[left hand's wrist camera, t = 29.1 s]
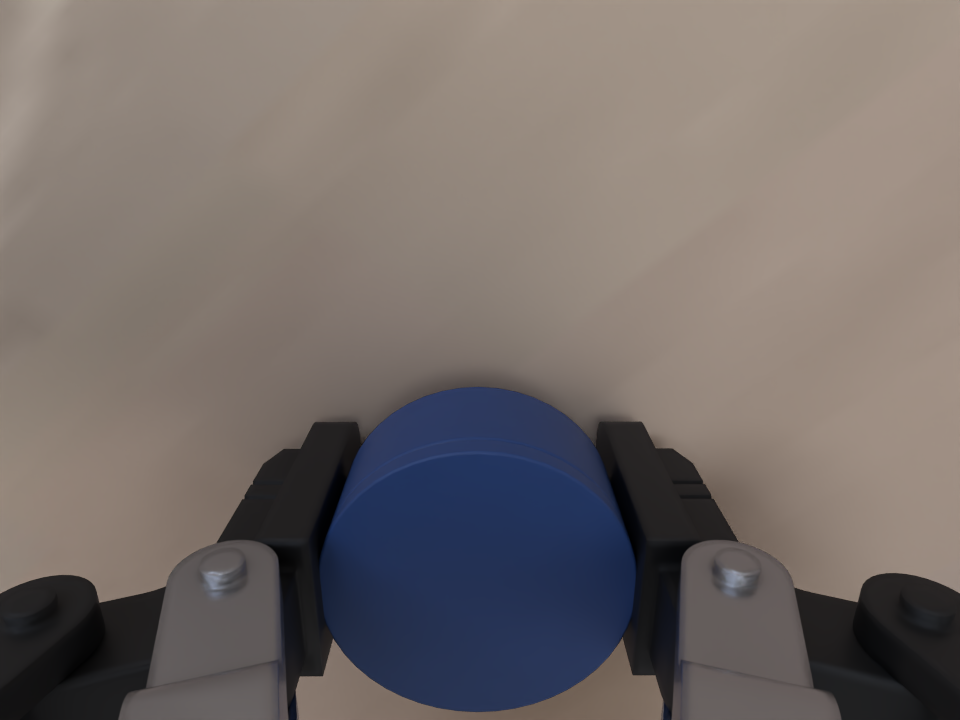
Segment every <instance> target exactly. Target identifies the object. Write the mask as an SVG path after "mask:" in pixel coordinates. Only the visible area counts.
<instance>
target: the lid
mask: <svg viewBox="0 0 960 720" xmlns="http://www.w3.org/2000/svg"><path fill="white" fill-rule="evenodd" d="M319 571H320V582H321V591H322V601H323V610H324V618H325V622H326V625H327V627H328V629H329V631H330V633H331V635H332V637H333V638H334V640H335V642H336V643H337V644H338V646H339V647H340V649H341V650H342V651H343V653H344V654H345V655H346V656H347V657H348V658H349V659H350V661H351V662H352V663H353V664H354V665H355V666H356V667H357V668H358V669H360V670H361V671H362V672H363V673H364V674H366V675H367V676H368V677H369V678H370V679H372V680H374V681H375V682H377V683H378V684H380V685H381V686H383V687H384V688H386V689H388V690H390V691H392V692H394V693H396V694H398V695H400V696H402V697H405V698H407V699H410V700H413V701H415V702H418V703H421V704H425V705H429V706H433V707H436V708H442V709H448V710H455V711H468V712H489V711H501V710H508V709H515V708H519V707H523V706H527V705H531V704H535V703H537V702H540V701H543V700H546V699H549V698H551V697H553V696H555V695H558V694H560V693H562V692H564V691H566V690H568V689H569V688H571V687H573V686H574V685H576V684H577V683H579V682H581V681H582V680H584V679H585V678H586V677H587V676H589V675H590V674H591V673H592V672H594V671H595V670H596V669H597V668H598V667H599V666H600V665H601V664H602V663H603V662H604V661H605V660H606V659H607V658H608V657H609V656H610V654H611V653H612V652H613V650H614V649H615V648H616V646H617V645H618V644H619V642H620V641H621V639H622V637H623V635H624V633H625V631H626V629H627V628H628V625H629V622H630V620H631V617H632V609H633V600H634V590H635V580H636V558H635V555H634V551H633V548H632V545H631V541H630V538H629V535H628V532H627V530H626V527H625V524H624V521H623V518H622V515H621V512H620V509H619V506H618V503H617V500H616V497H615V494H614V491H613V488H612V486H611V483H610V480H609V477H608V474H607V471H606V468H605V465H604V463H603V461H602V459H601V457H600V455H599V453H598V451H597V449H596V448H595V446H594V445H593V443H592V442H591V440H590V439H589V437H588V436H587V435H586V434H585V433H584V432H583V431H582V430H581V429H580V427H579V426H578V425H577V424H575V423H574V422H573V421H572V420H571V419H569V418H568V417H567V416H566V415H565V414H563V413H562V412H560V411H558V410H557V409H555V408H554V407H552V406H551V405H549V404H547V403H544V402H542V401H540V400H538V399H536V398H534V397H531V396H528V395H524V394H521V393H518V392H515V391H509V390H504V389H499V388H487V387H469V388H457V389H452V390H446V391H441V392H438V393H434V394H431V395H428V396H425V397H422V398H420V399H418V400H416V401H413V402H411V403H409V404H407V405H405V406H404V407H402V408H401V409H399V410H397V411H396V412H394V413H392V414H391V415H390V416H389V417H388V418H386V419H385V420H384V421H383V422H381V423H380V424H379V425H378V426H377V427H376V428H375V429H374V431H373V432H372V433H371V434H370V435H369V436H368V437H367V439H366V440H365V442H364V443H363V445H362V446H361V447H360V449H359V451H358V453H357V455H356V457H355V459H354V461H353V463H352V465H351V468H350V471H349V474H348V476H347V479H346V482H345V485H344V488H343V490H342V493H341V496H340V499H339V502H338V504H337V507H336V510H335V513H334V516H333V518H332V521H331V524H330V527H329V529H328V532H327V535H326V538H325V541H324V544H323V547H322V550H321V553H320V557H319Z"/></svg>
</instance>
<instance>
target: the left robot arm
mask: <svg viewBox="0 0 960 720" xmlns="http://www.w3.org/2000/svg"><path fill="white" fill-rule="evenodd" d="M359 449H360V434H359V428H358V424H357V423H356V422H315V423H314V424H313V426H312V428H311V430H310V432H309V434H308V435H307V437H306V439H305V441H304V443H303V445H302V447H301V449H283V450H282V451H281V452H279V453H278V454H276V455H275V456H274V457H272V458H271V459H270V460H268V461H267V462H265V463H264V464H263V466H262V467H261V469H260V471H259V472H258V474H257V476H256V477H255V479H254V481H253V485H251V486H250V487H249V489H248V491H247V492H246V494H245V499H242V501H241V503H240V504H239V506H238V508H237V509H236V511H235V513H234V514H233V516H232V518H231V519H230V521H229V523H228V525H227V526H226V528H225V530H224V531H223V533H222V535H221V536H220V538H219V540H218V541H217V543H216V544H213V545H210V546H207V547H205V548H202V549H200V550H198V551H196V552H194V553H192V554H191V555H189V556H188V557H186V558H185V559H183V560H182V561H181V562H180V563H179V564H178V565H177V566H176V567H175V568H174V569H173V570H172V572H171V574H170V575H169V578H168V581H167V585H166V587H163V588H160V589H158V590H155V591H151V592H147V593H143V594H139V595H134V596H129V597H125V598H120V599H115V600H111V601H106V602H101V603H99V599H98V596H97V592H96V589H95V586H94V585H93V584H92V583H91V582H90V581H88V580H87V579H85V578H82V577H79V576H73V575H57V576H49V577H43V578H39V579H35V580H32V581H29V582H26V583H23V584H20V585H18V586H15V587H13V588H11V589H9V590H7V591H5V592H3V593H1V594H0V720H299V713H298V706H297V698H296V687H297V683H298V680H299V677H300V676H323V674H324V670H325V666H326V663H327V659H328V655H329V652H330V648H331V644H332V640H333V637H332V635H331V633H330V631H329V629H328V627H327V625H326V622H325V618H324V610H323V601H322V591H321V582H320V571H319V557H320V553H321V550H322V547H323V544H324V541H325V538H326V535H327V532H328V529H329V527H330V524H331V521H332V518H333V516H334V513H335V510H336V507H337V504H338V502H339V499H340V496H341V493H342V490H343V488H344V485H345V482H346V479H347V476H348V474H349V471H350V468H351V465H352V463H353V461H354V459H355V457H356V455H357V453H358V451H359ZM596 449H597V451H598V453H599V455H600V457H601V459H602V461H603V463H604V465H605V468H606V471H607V474H608V477H609V480H610V483H611V486H612V488H613V491H614V494H615V497H616V500H617V503H618V506H619V509H620V512H621V515H622V518H623V521H624V524H625V527H626V530H627V532H628V535H629V538H630V541H631V545H632V548H633V551H634V555H635V558H636V580H635V590H634V600H633V609H632V617H631V620H630V622H629V625H628V628H627V629H626V631H625V633H624V635H623V640H624V644H625V648H626V652H627V655H628V659H629V663H630V667H631V671H632V674H633V675H656V679H657V682H658V685H659V688H660V692H661V695H662V698H663V706H662V713H661V720H960V593H958V592H956V591H954V590H952V589H950V588H949V587H946V586H944V585H942V584H939V583H937V582H934V581H931V580H929V579H925V578H922V577H918V576H913V575H908V574H899V573H886V574H879V575H876V576H873V577H871V578H869V579H868V580H866V581H865V583H864V584H863V586H862V588H861V592H860V596H859V600H858V602H853V601H848V600H844V599H839V598H834V597H830V596H825V595H820V594H816V593H811V592H807V591H803V590H800V589H797V588H794V585H793V581H792V578H791V575H790V574H789V572H788V570H787V569H786V568H785V567H784V566H783V565H782V564H781V563H780V562H779V561H778V560H777V559H775V558H774V557H772V556H771V555H769V554H768V553H766V552H764V551H762V550H760V549H758V548H755V547H753V546H750V545H747V544H744V543H740V542H738V540H737V538H736V537H735V535H734V533H733V532H732V530H731V528H730V526H729V525H728V523H727V521H726V520H725V518H724V516H723V514H722V513H721V511H720V509H719V508H718V506H717V504H716V502H715V501H714V499H711V494H710V492H709V490H708V489H707V487H706V485H705V484H703V480H702V478H701V477H700V475H699V473H698V472H697V470H696V468H695V466H694V465H693V463H691V462H690V461H689V460H687V459H686V458H685V457H683V456H682V455H681V454H679V453H678V452H676V451H675V450H674V449H656V448H655V446H654V444H653V442H652V440H651V438H650V436H649V434H648V432H647V430H646V428H645V426H644V425H643V423H642V422H600V423H599V426H598V431H597V442H596Z"/></svg>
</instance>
